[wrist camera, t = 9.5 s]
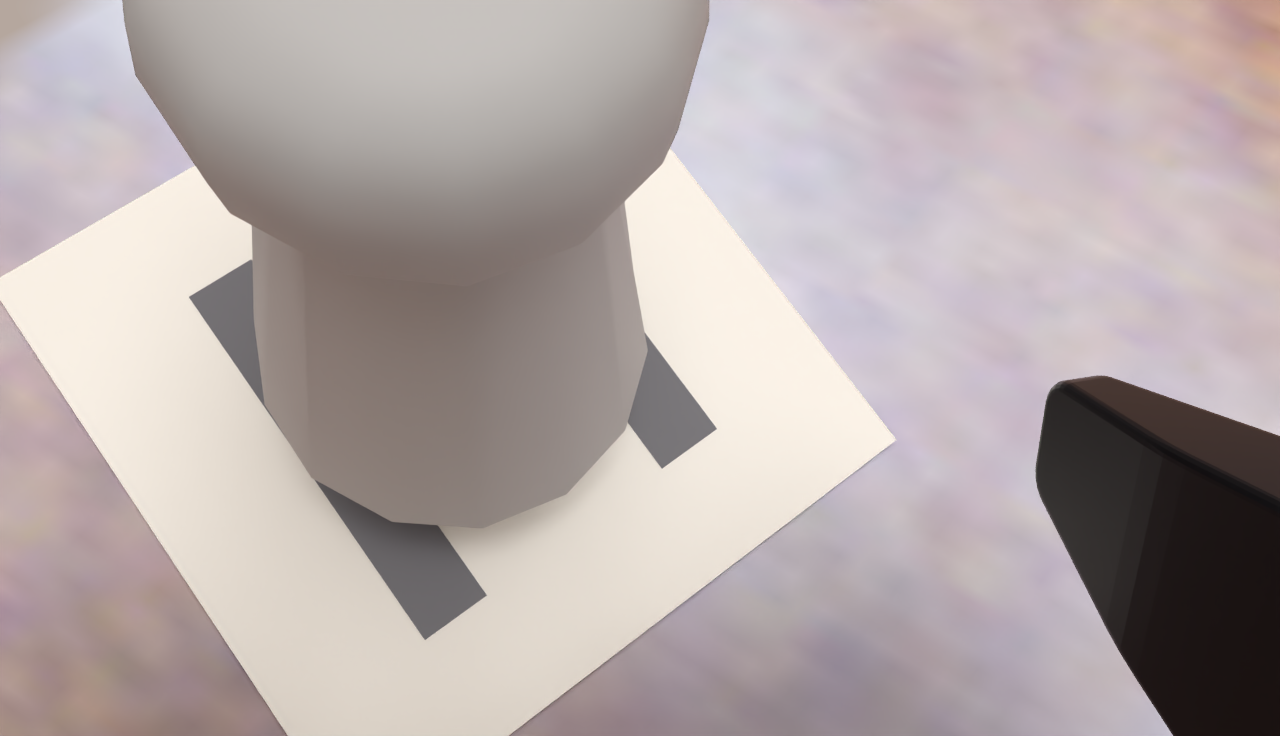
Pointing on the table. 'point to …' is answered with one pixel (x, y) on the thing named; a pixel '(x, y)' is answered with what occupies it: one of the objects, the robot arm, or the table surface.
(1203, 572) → the robot arm
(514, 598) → the letter card
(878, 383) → the table surface
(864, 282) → the table surface
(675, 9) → the salt shaker
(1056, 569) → the table surface
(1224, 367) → the table surface
